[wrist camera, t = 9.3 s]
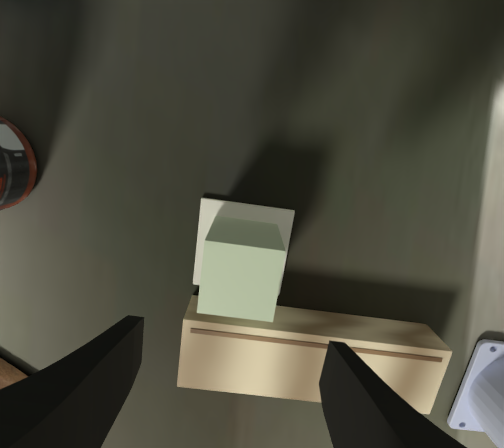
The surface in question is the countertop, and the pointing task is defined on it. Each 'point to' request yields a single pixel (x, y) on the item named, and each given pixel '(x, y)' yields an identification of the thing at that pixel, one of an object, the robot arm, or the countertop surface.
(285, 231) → the grey pad
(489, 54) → the countertop surface
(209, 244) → the block
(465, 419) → the robot arm
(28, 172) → the supplement bottle
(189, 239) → the countertop surface
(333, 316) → the ash board
